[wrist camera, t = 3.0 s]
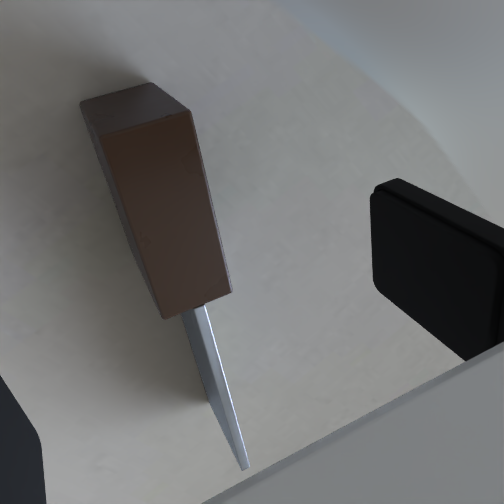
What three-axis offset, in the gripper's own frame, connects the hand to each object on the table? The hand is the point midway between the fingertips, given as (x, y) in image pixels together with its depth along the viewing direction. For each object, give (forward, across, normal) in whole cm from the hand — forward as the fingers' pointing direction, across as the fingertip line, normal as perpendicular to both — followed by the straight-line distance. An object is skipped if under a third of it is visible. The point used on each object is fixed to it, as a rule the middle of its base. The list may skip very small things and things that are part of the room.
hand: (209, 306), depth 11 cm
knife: (+7, 0, +3) cm, 8 cm away
